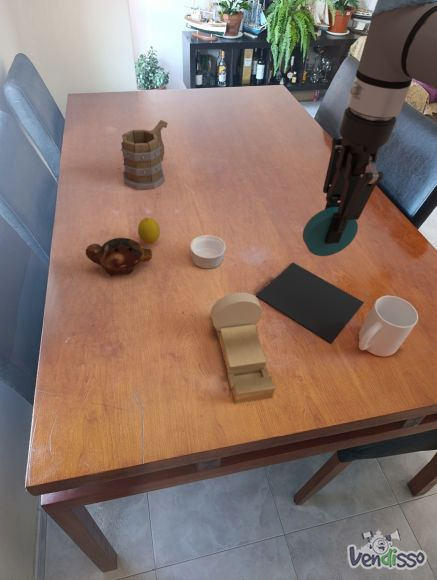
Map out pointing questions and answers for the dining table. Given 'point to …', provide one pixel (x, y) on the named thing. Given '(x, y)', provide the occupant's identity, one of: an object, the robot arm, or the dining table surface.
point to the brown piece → (118, 255)
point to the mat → (311, 301)
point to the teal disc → (319, 229)
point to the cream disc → (236, 311)
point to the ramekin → (207, 251)
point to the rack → (245, 364)
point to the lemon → (148, 230)
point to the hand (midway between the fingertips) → (328, 236)
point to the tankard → (143, 157)
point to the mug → (387, 325)
